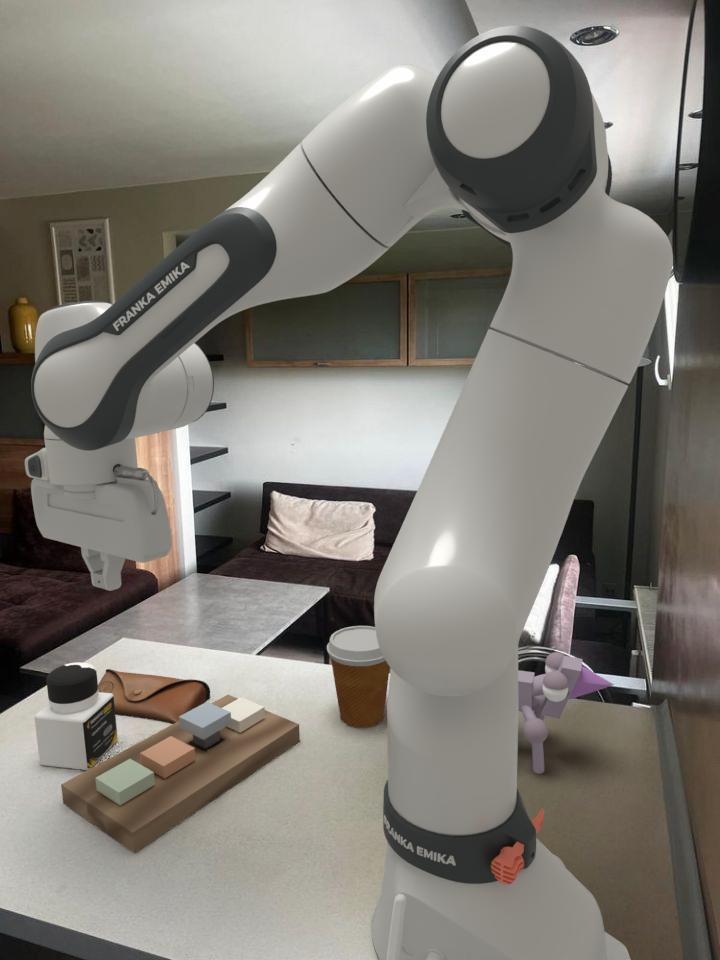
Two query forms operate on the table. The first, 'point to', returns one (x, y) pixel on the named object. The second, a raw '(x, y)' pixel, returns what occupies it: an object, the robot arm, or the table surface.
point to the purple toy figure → (552, 697)
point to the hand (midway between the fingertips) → (107, 587)
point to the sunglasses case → (153, 695)
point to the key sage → (125, 781)
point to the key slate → (205, 723)
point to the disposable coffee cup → (359, 675)
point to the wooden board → (179, 779)
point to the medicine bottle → (75, 719)
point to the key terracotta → (167, 756)
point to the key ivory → (244, 714)
